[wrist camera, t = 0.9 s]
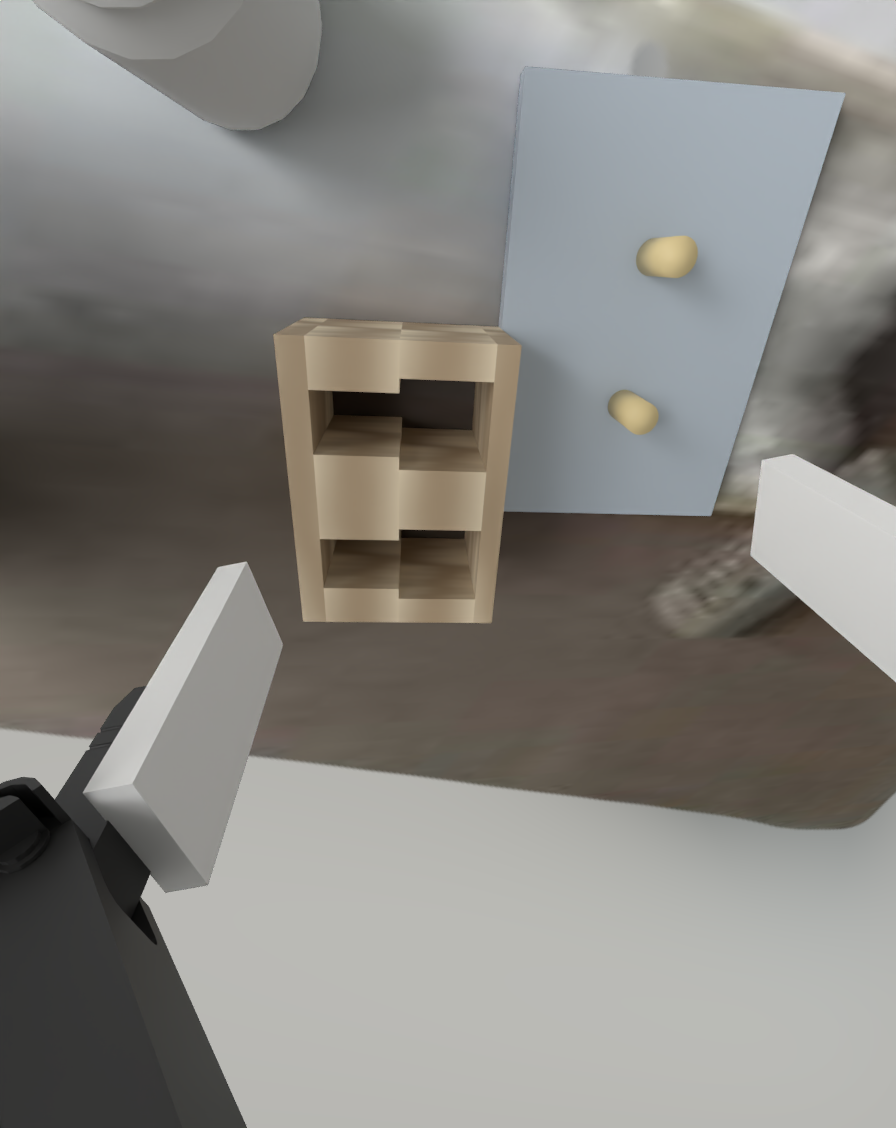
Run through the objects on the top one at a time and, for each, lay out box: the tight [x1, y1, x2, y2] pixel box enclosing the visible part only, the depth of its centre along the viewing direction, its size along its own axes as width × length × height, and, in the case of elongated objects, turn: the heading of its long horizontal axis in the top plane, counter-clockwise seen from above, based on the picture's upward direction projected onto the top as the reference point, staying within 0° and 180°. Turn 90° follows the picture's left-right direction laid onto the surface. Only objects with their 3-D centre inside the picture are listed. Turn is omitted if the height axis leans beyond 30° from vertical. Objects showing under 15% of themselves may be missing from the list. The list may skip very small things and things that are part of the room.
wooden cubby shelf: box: [273, 317, 522, 623], centre depth 28 cm, size 10×14×7 cm
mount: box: [498, 66, 846, 516], centre depth 27 cm, size 14×20×4 cm
